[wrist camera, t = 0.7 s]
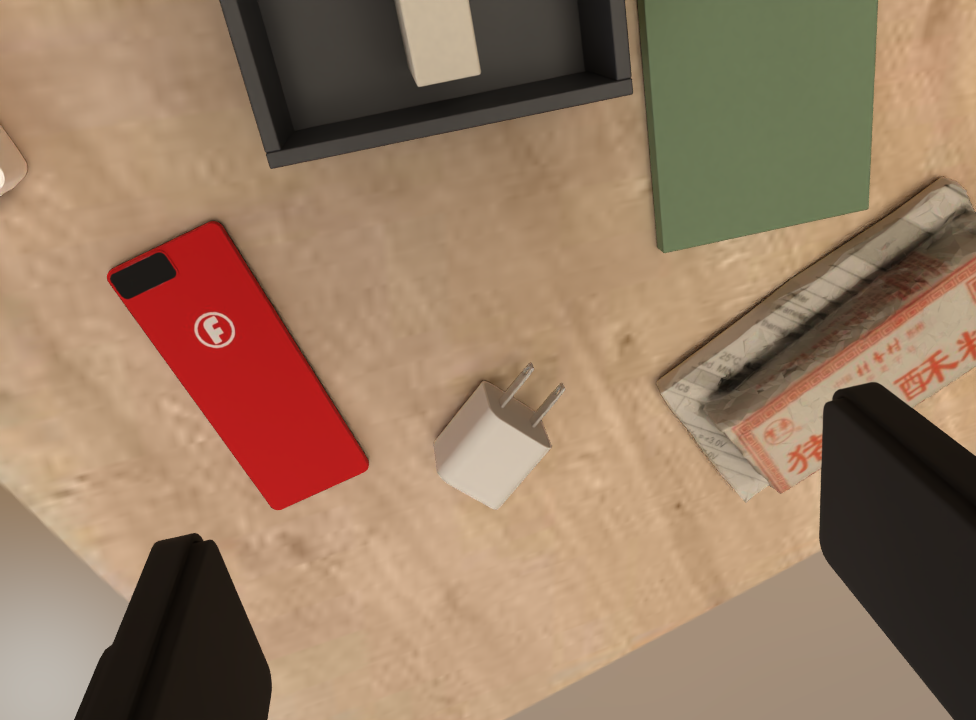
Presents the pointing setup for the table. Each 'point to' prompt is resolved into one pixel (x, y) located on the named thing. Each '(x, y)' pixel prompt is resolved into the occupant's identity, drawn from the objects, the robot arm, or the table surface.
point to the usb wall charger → (493, 442)
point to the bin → (389, 83)
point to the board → (438, 40)
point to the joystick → (10, 163)
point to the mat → (756, 113)
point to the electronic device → (239, 364)
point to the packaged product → (836, 342)
